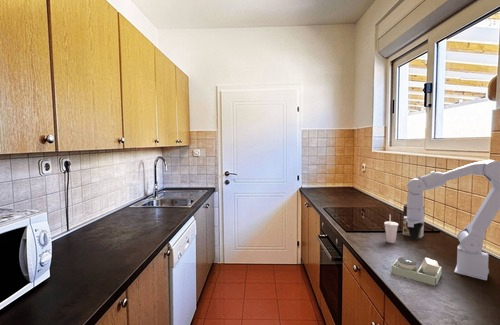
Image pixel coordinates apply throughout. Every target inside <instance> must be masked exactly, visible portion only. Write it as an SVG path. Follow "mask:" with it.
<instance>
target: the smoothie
mask: <svg viewBox="0 0 500 325" xmlns="http://www.w3.org/2000/svg"><path fill="white" fill-rule="evenodd" d="M391 218H392V215H391V214H389V221H384V224H383V225H384V230H385V235H386V242H387V243H389V244H395V243H396V239H397V234H398V233H397V232H398V227H399V223H398V222H395V221H392V219H391Z"/></svg>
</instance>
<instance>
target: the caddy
mask: <svg viewBox="0 0 500 325" xmlns="http://www.w3.org/2000/svg"><path fill="white" fill-rule="evenodd" d="M390 266H391V267H390V268H391V272H390V273H391V274H393V275H395V276H400V277H404V278H407V279H409V280H414V281H418V282H421V283H424V284H427V285H431V286H434V287H436V286H437V284H438V283H439V280H440V278H441V276H442V266H440V265H439V267H440V268H439V270H438V272H437V274H436V276H435V277H433V276H429V275H426V274H422V273H423V269H422V264H420V266H419V268H417V272H414V271H411V270H407V269H403V268H399V267H398V258H397V259H396V260H395V261H394V262H393V264H392V265H390Z"/></svg>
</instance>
